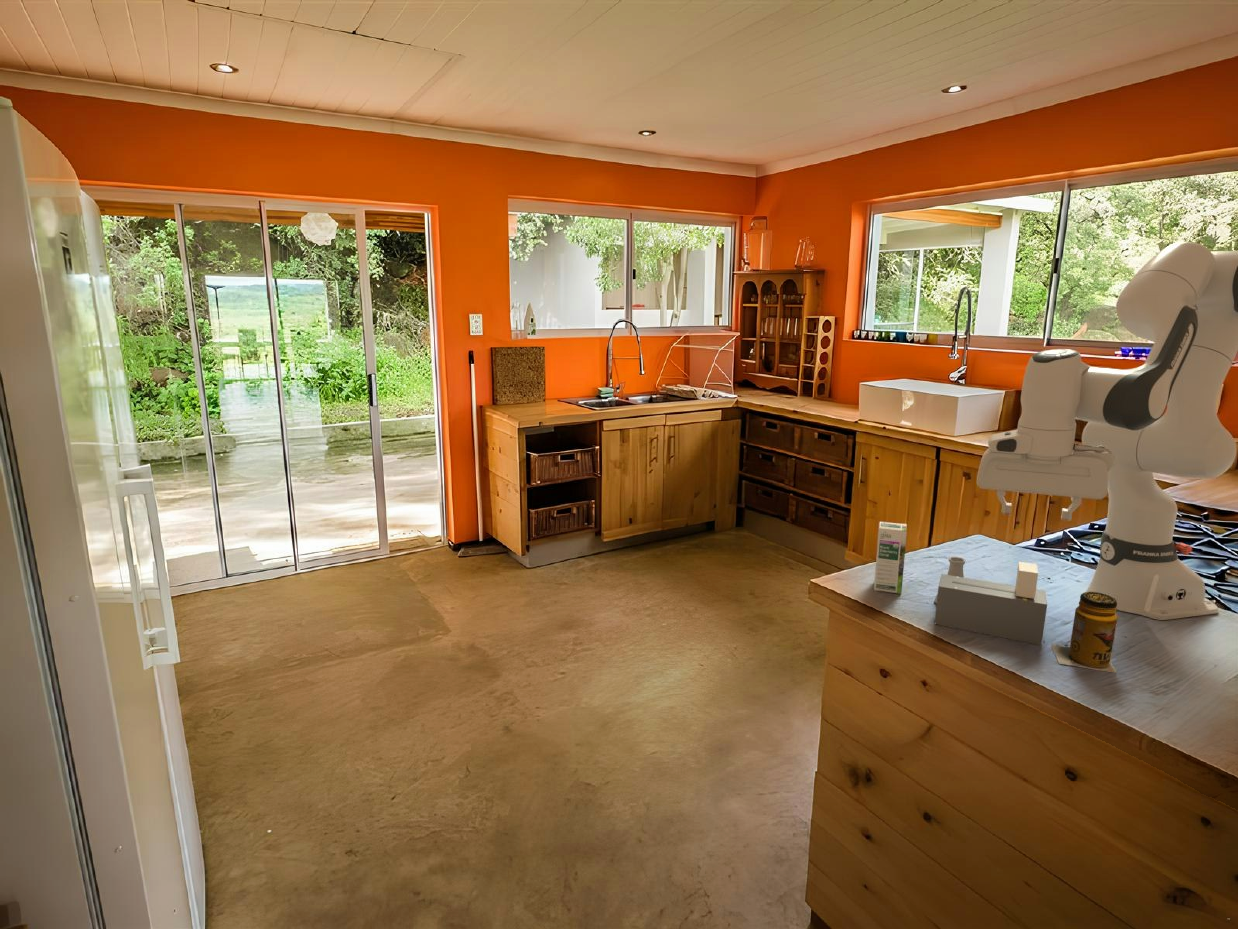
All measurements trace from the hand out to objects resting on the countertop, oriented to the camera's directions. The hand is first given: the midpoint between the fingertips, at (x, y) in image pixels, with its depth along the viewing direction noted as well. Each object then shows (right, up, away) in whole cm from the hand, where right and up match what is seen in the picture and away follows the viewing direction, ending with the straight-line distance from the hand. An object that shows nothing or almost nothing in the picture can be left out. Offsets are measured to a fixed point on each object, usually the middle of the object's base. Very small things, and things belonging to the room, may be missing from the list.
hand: (1035, 516), depth 126 cm
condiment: (+6, -25, -4) cm, 26 cm away
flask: (-7, -20, +18) cm, 28 cm away
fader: (0, -15, +3) cm, 15 cm away
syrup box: (-17, -18, +27) cm, 36 cm away
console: (-5, -22, +8) cm, 24 cm away
